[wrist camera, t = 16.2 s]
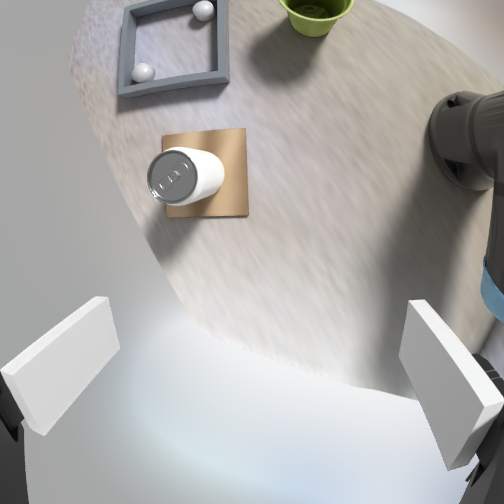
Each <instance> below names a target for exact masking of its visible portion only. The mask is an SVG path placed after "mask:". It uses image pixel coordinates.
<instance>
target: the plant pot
mask: <svg viewBox="0 0 504 504" xmlns="http://www.w3.org/2000/svg"><path fill="white" fill-rule="evenodd" d="M278 1H279V2H280V4H281V5H282V6H283V7H284V8H285V9H286V10H287V13H288V16H289V19H290V22H291V25H292V26H293V28H294V29H295V30H296V31H298V32H299V33H301V34H303V35H305V36H309V37H319V36H323V35H325V34H326V33H327V32H329V31H330V30H331V28H332V27H333V25H334V24H335V22H336V21H337V19H339V18H341V17H343V16H344V15H346V14H347V13H348V12H349V11H350V9H351V7H352V5H353V2H354V0H278ZM307 7H311V8H314V9H305V8H307ZM325 17H328V19H326V18H325Z"/></svg>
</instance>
